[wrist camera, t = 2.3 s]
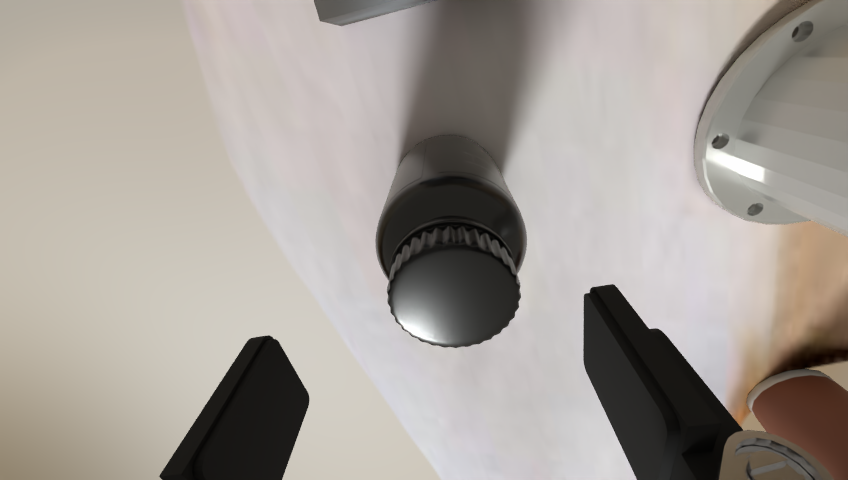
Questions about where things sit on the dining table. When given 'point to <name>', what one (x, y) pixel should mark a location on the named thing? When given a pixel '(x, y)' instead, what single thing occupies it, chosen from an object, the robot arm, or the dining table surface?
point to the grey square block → (359, 9)
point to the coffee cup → (806, 415)
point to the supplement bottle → (451, 244)
